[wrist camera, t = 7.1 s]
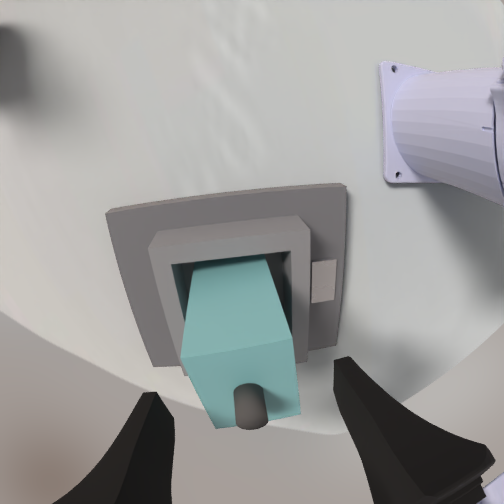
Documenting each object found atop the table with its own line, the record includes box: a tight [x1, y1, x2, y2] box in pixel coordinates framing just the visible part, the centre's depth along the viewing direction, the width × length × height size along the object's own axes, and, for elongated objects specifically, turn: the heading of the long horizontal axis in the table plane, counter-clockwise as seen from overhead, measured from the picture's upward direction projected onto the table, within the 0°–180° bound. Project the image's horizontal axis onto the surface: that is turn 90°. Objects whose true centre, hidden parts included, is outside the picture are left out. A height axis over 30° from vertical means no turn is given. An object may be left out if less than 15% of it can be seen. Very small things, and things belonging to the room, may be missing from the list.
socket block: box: [105, 183, 346, 376], centre depth 17 cm, size 14×12×4 cm
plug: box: [180, 254, 301, 430], centre depth 14 cm, size 4×5×10 cm
